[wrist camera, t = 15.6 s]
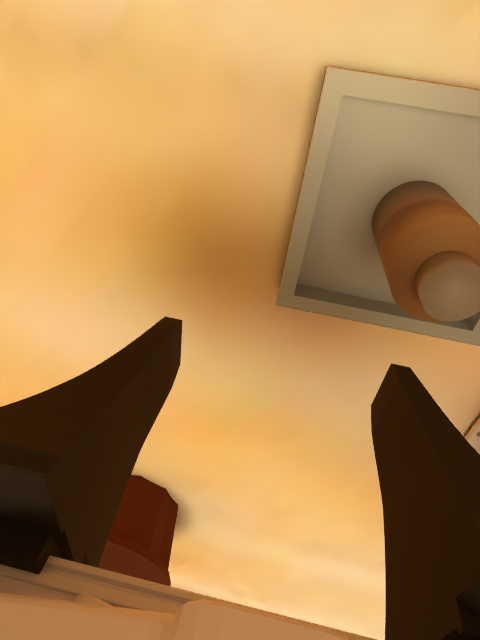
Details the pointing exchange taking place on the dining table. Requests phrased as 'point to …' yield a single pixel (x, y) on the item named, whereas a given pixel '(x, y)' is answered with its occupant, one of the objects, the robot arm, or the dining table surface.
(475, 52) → the dining table surface
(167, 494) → the muffin
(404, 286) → the orange bottle
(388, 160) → the tray
